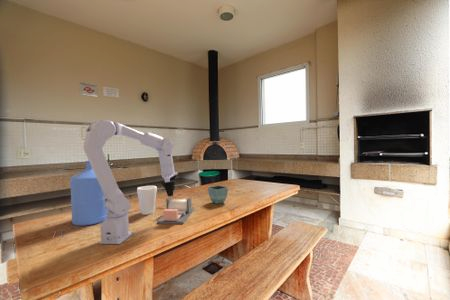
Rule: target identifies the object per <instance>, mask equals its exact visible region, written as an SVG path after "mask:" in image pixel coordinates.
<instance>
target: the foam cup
mask: <svg viewBox="0 0 450 300" xmlns="http://www.w3.org/2000/svg"><path fill="white" fill-rule="evenodd" d="M136 192H137V197H138V202H139V208H140V213H141V215H143V216H145V215H147V216H148V215H152V214H154V213H155V208H156V200H157V198H156V197H157V192H158V187H157V186H156V185H145V186H143V185H142V186H138V187H137V189H136Z"/></svg>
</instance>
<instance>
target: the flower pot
mask: <svg viewBox="0 0 450 300" xmlns="http://www.w3.org/2000/svg"><path fill="white" fill-rule="evenodd" d="M207 190H208V191H207V193H208V197H209V199H210V201H211V202H212V203H214V204H217V205H219V204H222V203H223V204H224V203H225V201H226V200H227V197H228V190H229V188H228V187H227V186H223V185H215V186H209V187H207Z"/></svg>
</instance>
